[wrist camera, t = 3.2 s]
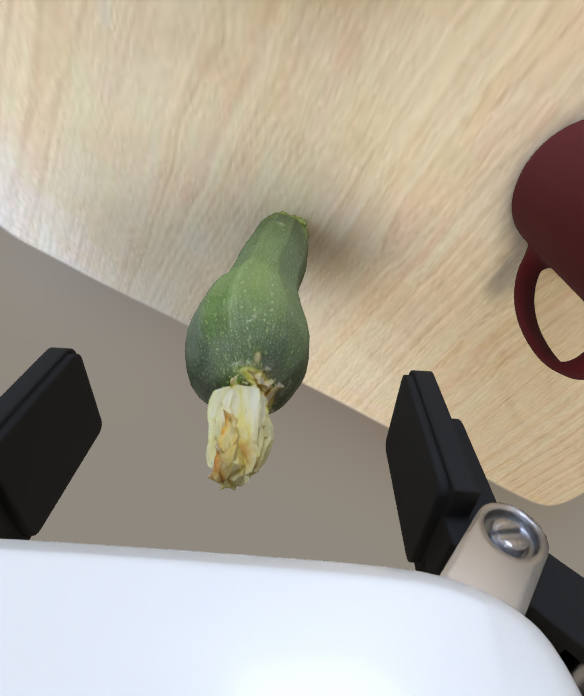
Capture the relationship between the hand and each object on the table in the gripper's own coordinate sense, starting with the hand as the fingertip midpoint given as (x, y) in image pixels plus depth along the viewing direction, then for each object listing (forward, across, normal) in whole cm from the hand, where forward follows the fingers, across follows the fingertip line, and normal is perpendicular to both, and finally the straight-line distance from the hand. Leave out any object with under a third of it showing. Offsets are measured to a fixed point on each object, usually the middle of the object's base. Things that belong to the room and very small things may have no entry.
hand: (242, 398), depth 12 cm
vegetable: (+16, 0, 0) cm, 16 cm away
